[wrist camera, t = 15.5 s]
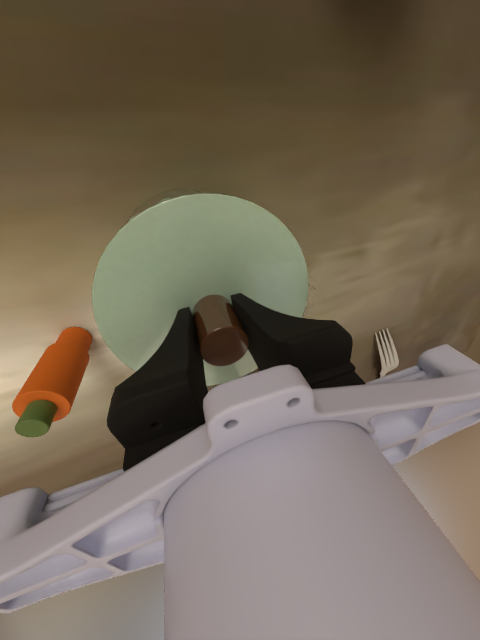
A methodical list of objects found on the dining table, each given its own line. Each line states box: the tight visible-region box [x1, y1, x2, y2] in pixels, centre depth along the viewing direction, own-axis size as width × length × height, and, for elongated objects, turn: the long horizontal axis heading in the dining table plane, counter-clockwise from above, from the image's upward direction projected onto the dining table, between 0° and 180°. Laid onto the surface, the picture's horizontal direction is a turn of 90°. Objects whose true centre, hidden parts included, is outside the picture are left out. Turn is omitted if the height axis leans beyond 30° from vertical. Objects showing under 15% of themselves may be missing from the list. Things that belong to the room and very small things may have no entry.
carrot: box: [12, 327, 92, 437], centre depth 17 cm, size 3×3×9 cm
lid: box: [92, 193, 309, 386], centre depth 13 cm, size 12×12×4 cm
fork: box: [375, 328, 399, 378], centre depth 38 cm, size 3×21×3 cm, turn 19°
